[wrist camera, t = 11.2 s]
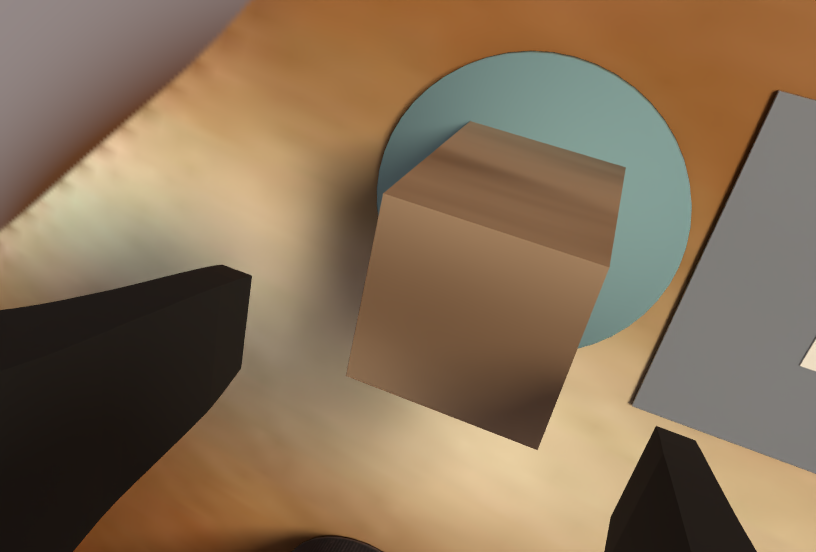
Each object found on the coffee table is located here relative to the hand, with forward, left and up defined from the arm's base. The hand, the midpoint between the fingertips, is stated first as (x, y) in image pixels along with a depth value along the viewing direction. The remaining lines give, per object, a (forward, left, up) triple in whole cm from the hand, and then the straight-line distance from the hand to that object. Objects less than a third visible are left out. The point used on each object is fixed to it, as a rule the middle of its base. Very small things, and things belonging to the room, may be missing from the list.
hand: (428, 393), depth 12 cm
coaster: (0, 0, -10) cm, 10 cm away
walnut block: (0, 0, -9) cm, 9 cm away
